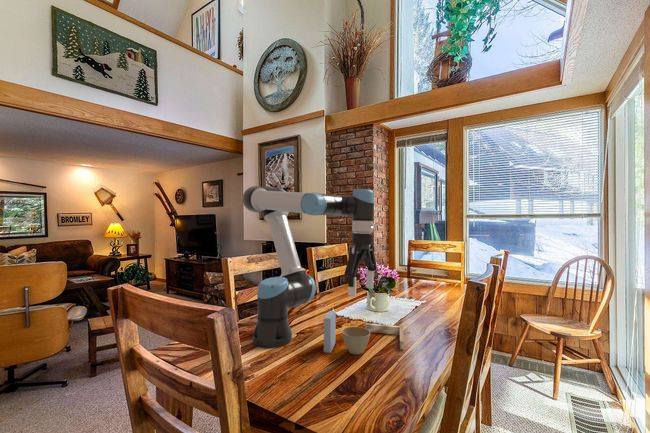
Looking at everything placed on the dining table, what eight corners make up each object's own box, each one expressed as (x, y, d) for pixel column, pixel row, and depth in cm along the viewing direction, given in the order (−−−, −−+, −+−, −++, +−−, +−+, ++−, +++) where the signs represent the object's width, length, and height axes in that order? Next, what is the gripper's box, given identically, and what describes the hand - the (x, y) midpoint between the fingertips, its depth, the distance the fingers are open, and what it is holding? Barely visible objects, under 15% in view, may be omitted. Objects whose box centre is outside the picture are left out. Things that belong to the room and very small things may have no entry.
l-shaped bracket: (361, 345, 111) (361, 337, 111) (365, 330, 126) (365, 323, 126) (404, 350, 107) (404, 341, 107) (403, 333, 122) (403, 326, 122)
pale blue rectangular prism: (323, 352, 105) (324, 318, 105) (329, 341, 114) (329, 310, 114) (330, 352, 105) (330, 318, 105) (335, 342, 113) (335, 311, 113)
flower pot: (369, 359, 100) (369, 338, 100) (340, 356, 102) (340, 335, 102) (370, 346, 110) (370, 327, 110) (344, 344, 112) (344, 325, 112)
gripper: (355, 234, 94) (353, 301, 94) (386, 231, 114) (384, 286, 114) (335, 233, 98) (333, 297, 98) (368, 230, 118) (367, 283, 119)
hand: (361, 291), depth 106 cm, fingers open, 13 cm apart
